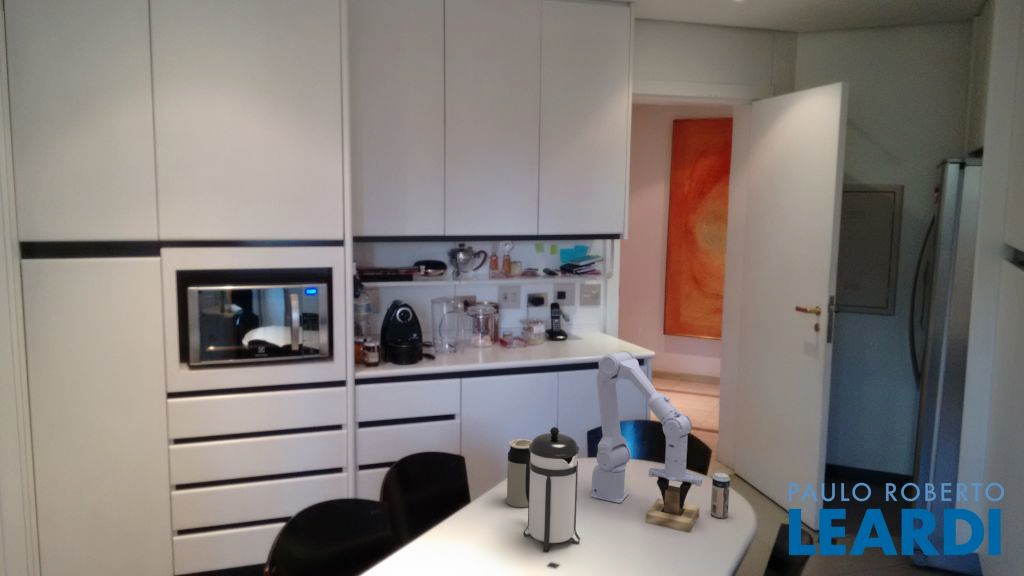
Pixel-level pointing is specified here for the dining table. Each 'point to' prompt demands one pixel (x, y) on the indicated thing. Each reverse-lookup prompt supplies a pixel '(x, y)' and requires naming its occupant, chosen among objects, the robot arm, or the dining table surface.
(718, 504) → the beer can
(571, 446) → the coffee press
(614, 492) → the robot arm
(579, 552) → the dining table surface
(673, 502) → the walnut peg
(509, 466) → the travel mug
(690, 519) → the oak socket block
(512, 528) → the dining table surface
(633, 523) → the dining table surface
